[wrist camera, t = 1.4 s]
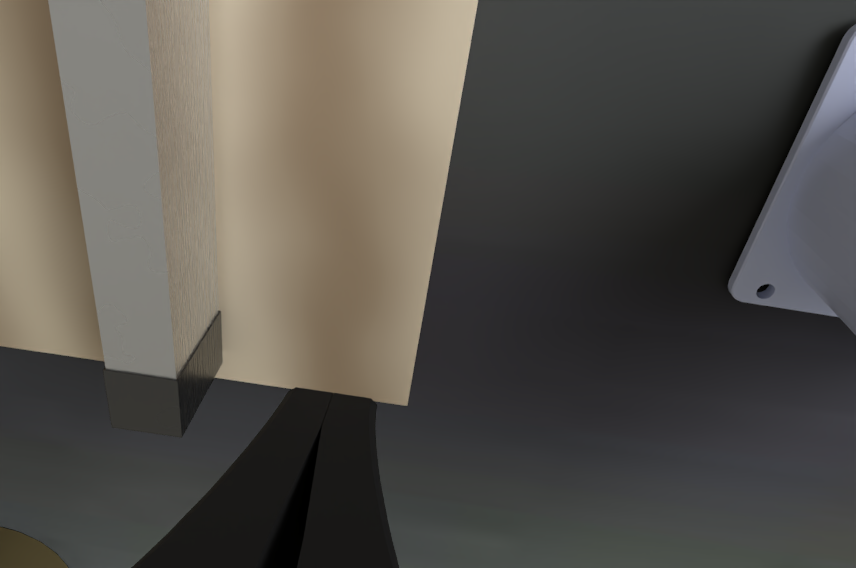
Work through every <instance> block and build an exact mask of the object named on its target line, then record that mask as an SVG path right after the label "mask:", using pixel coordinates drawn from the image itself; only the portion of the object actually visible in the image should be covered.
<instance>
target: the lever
mask: <svg viewBox="0 0 856 568" xmlns="http://www.w3.org/2000/svg"><path fill="white" fill-rule="evenodd" d="M48 3H49V9H50V16H51V22H52V29H53V35H54V41H55V48H56V54H57V61H58V67H59V73H60V80H61V86H62V93H63V99H64V105H65V112H66V118H67V125H68V131H69V137H70V144H71V150H72V157H73V163H74V169H75V176H76V182H77V189H78V195H79V201H80V208H81V214H82V221H83V227H84V233H85V240H86V246H87V253H88V259H89V265H90V272H91V278H92V285H93V291H94V297H95V304H96V310H97V317H98V323H99V330H100V336H101V342H102V349H103V355H104V362H105V368H104V370H103V375H104V381H105V387H106V394H107V400H108V406H109V413H110V419H111V425H112V428H119V429H126V430H133V431H140V432H147V433H154V434H161V435H168V436H175V437H182V436H183V435H184V433H185V431H186V429H187V427H188V425H189V424H190V422H191V420H192V418H193V416H194V414H195V412H196V411H197V409H198V407H199V405H200V403H201V401H202V400H203V398H204V396H205V394H206V392H207V390H208V389H209V387H210V385H211V383H212V381H213V379H214V377H215V376H216V374H217V372H218V370H219V368H220V366H221V365H222V363H223V357H222V324H221V311H220V310H219V300H218V269H217V238H216V207H215V176H214V145H213V115H212V84H211V53H210V22H209V0H48Z"/></svg>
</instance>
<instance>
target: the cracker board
mask: <svg viewBox="0 0 856 568" xmlns="http://www.w3.org/2000/svg"><path fill="white" fill-rule="evenodd" d="M477 4H478V0H209V22H210V53H211V84H212V115H213V145H214V176H215V207H216V238H217V269H218V300H219V310H220V311H221V324H222V357H223V363H222V365H221V366H220V368H219V370H218V372H217V374H216V376H215V377H214V378H221V379H228V380H234V381H241V382H248V383H255V384H262V385H268V386H275V387H282V388H289V389H294V388H295V387H298V388H305V389H312V390H318V391H325V392H332V393H339V394H345V395H352V396H359V397H366V398H371V399H372V400H373V401H377V402H384V403H390V404H397V405H404V406H407V404H408V398H409V393H410V387H411V381H412V376H413V370H414V364H415V358H416V353H417V347H418V341H419V336H420V330H421V324H422V318H423V313H424V307H425V301H426V295H427V290H428V284H429V278H430V273H431V267H432V261H433V255H434V250H435V244H436V238H437V233H438V227H439V221H440V215H441V210H442V204H443V198H444V193H445V187H446V181H447V175H448V170H449V164H450V158H451V153H452V147H453V141H454V135H455V130H456V124H457V118H458V113H459V107H460V101H461V95H462V90H463V84H464V78H465V72H466V67H467V61H468V55H469V50H470V44H471V38H472V32H473V27H474V21H475V15H476V10H477ZM0 346H4V347H10V348H17V349H24V350H31V351H38V352H44V353H51V354H58V355H65V356H72V357H78V358H85V359H92V360H99V361H104V355H103V349H102V342H101V336H100V330H99V323H98V317H97V310H96V304H95V297H94V291H93V285H92V278H91V272H90V265H89V259H88V253H87V246H86V240H85V233H84V227H83V221H82V214H81V208H80V201H79V195H78V189H77V182H76V176H75V169H74V163H73V157H72V150H71V144H70V137H69V131H68V125H67V118H66V112H65V105H64V99H63V93H62V86H61V80H60V73H59V67H58V61H57V54H56V48H55V41H54V35H53V29H52V22H51V16H50V9H49V3H48V0H0Z"/></svg>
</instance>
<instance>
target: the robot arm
mask: <svg viewBox="0 0 856 568" xmlns="http://www.w3.org/2000/svg"><path fill="white" fill-rule="evenodd" d="M764 284H769V286H768V288H767V289H766V290H764V291H762V292H757V290H758V288H759V287H760V286H762V285H764ZM728 289H729V292H730V293H731V295H732V296H733V297H734V298H735V299H736V300H738V301H740V302H745V303H751V304H758V305H764V306H770V307H777V308H783V309H790V310H796V311H802V312H809V313H815V314H822V315H828V316H835V317H839V318H840V319H841V320H842V321H843V322H844V323H845V324H846V325H847V327H848V328H849V329H850V330H851V331H852V332H853V333H854V334H855V335H856V24H855V25H853V26H852V27H851V28H850V29H849V30H848V31H847V32H846V34H845V35H844V37H843V38H842V41H841V43H840V45H839V47H838V49H837V51H836V53H835V56H834V58H833V60H832V62H831V64H830V66H829V68H828V70H827V73H826V75H825V77H824V79H823V81H822V83H821V85H820V87H819V90H818V92H817V94H816V96H815V98H814V100H813V102H812V105H811V107H810V109H809V111H808V113H807V115H806V117H805V119H804V122H803V124H802V126H801V128H800V130H799V132H798V134H797V137H796V139H795V141H794V143H793V145H792V147H791V149H790V151H789V154H788V156H787V158H786V160H785V162H784V164H783V166H782V168H781V171H780V173H779V175H778V177H777V179H776V181H775V183H774V186H773V188H772V190H771V192H770V194H769V196H768V198H767V200H766V203H765V205H764V207H763V209H762V211H761V213H760V215H759V217H758V220H757V222H756V224H755V226H754V228H753V230H752V232H751V235H750V237H749V239H748V241H747V243H746V245H745V247H744V249H743V252H742V254H741V256H740V258H739V260H738V262H737V264H736V267H735V269H734V271H733V273H732V275H731V277H730V279H729V282H728ZM376 409H377V404H376V403H375V402H374V401H373V400H372V399H371V398H366V397H359V396H352V395H345V394H339V393H332V392H325V391H318V390H312V389H305V388H298V387H295V388H294V389H292V390H290V391H289V392H288V393H287V395H286V396H285V398H284V399H283V401H282V402H281V404H280V405H279V406H278V408H277V409H276V411H275V412H274V413H273V415H272V416H271V418H270V419H269V420H268V422H267V423H266V424H265V425H264V427H263V428H262V429H261V431H260V432H259V433H258V434H257V436H256V437H255V438H254V439H253V441H252V442H251V443H250V444H249V446H248V447H247V448H246V449H245V450H244V452H243V453H242V454H241V455H240V456H239V457H238V458H237V460H236V461H235V462H234V463H233V464H232V465H231V466H230V468H229V469H228V470H227V471H226V472H225V473H224V475H223V476H222V477H221V478H220V479H219V480H218V481H217V483H216V484H215V485H214V486H213V487H212V488H211V489H210V490H209V491H208V492H207V493H206V495H205V496H204V497H203V498H202V499H201V500H200V501H199V502H198V503H197V504H196V505H195V506H194V507H193V508H192V509H191V510H190V511H189V512H188V513H187V514H186V515H185V516H184V517H183V518H182V519H181V520H180V521H179V522H178V523H177V524H176V526H175V527H174V528H173V529H172V530H171V531H170V532H169V533H168V534H167V535H166V536H165V537H164V538H163V539H162V540H160V541H159V542H158V543H157V544H156V545H155V546H154V547H153V548H152V549H151V550H150V551H149V552H148V553H147V554H146V555H145V556H144V557H143V558H142V559H140V560H139V561H138V562H137V563H136V564H135V565H134V566H133V567H132V568H399V565H398V561H397V557H396V553H395V550H394V546H393V542H392V537H391V533H390V528H389V524H388V520H387V514H386V509H385V504H384V498H383V493H382V488H381V482H380V475H379V468H378V459H377V449H376V435H375V420H376Z"/></svg>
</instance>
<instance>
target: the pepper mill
mask: <svg viewBox="0 0 856 568" xmlns="http://www.w3.org/2000/svg"><path fill="white" fill-rule="evenodd" d="M0 568H68V566H67V565H66V564H65V563H64V562H63V561H62V559H61V558H60V557H59V556H58V555H57V554H56V553H55V552H54V551H52V550H51V549H49V548H48V547H47V546H45V545H44V544H42V543H41V542H39V541H37V540H35V539H33V538H31V537H29V536H27V535H25V534H22V533H20V532H17V531H14V530H10V529H6V528H3V527H0Z"/></svg>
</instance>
